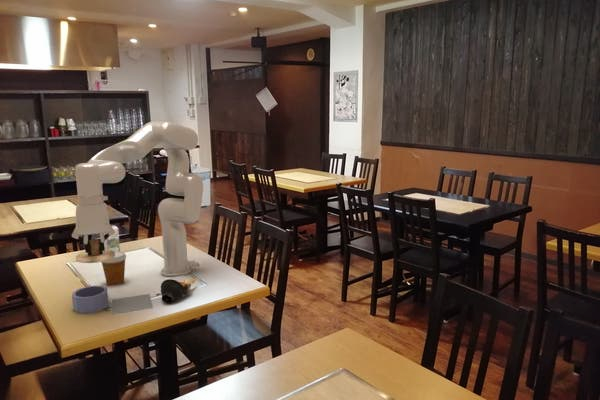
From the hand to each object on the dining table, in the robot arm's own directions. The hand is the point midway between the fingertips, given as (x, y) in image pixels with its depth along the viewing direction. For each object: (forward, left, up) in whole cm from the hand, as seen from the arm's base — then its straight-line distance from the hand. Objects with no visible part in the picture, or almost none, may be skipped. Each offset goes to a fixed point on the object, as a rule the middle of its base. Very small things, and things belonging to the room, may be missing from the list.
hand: (95, 253), depth 153 cm
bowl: (+3, -1, -20) cm, 20 cm away
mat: (-10, +2, -20) cm, 22 cm away
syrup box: (-4, -58, -20) cm, 61 cm away
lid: (0, 0, -1) cm, 1 cm away
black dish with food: (-27, +1, -20) cm, 34 cm away
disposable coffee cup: (-5, -22, -20) cm, 30 cm away
